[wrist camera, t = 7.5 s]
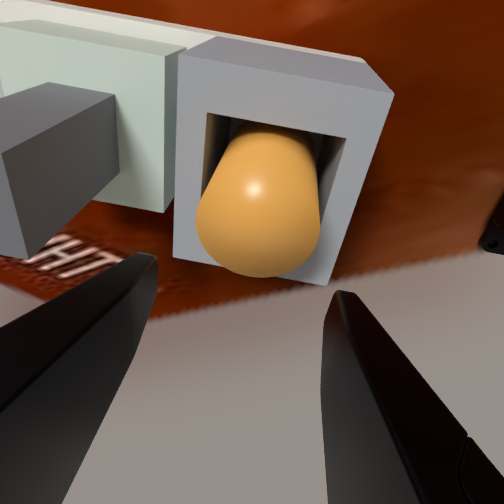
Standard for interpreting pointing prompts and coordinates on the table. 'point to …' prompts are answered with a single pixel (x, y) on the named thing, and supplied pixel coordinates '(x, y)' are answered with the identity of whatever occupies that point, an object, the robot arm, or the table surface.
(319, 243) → the rail
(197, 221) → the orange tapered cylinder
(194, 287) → the table surface
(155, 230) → the table surface
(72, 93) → the carriage
